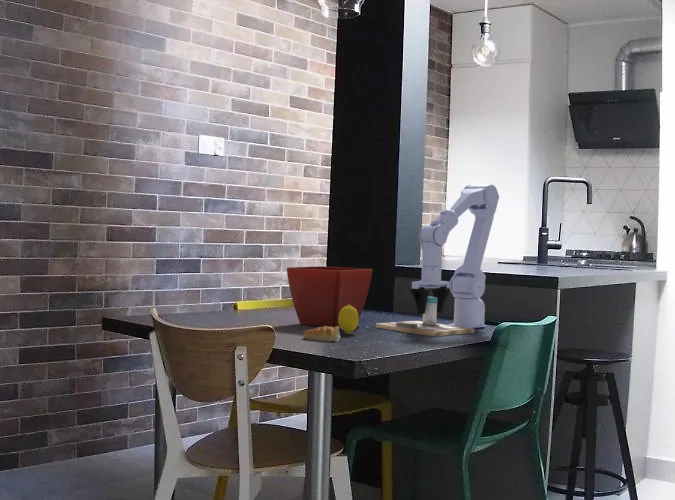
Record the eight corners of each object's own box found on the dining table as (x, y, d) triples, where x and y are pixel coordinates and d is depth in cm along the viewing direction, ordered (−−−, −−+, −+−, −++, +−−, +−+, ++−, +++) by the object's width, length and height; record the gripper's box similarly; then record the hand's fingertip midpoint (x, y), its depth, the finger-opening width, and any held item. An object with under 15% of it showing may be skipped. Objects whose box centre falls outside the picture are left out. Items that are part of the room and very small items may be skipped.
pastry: (302, 341, 204) (302, 326, 204) (304, 338, 211) (305, 323, 211) (339, 342, 204) (339, 327, 204) (340, 339, 211) (341, 324, 210)
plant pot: (282, 324, 239) (284, 266, 238) (319, 319, 255) (321, 265, 254) (337, 330, 228) (339, 270, 228) (372, 325, 244) (374, 269, 244)
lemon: (356, 335, 217) (357, 305, 217) (335, 334, 218) (336, 304, 218) (359, 333, 223) (360, 304, 223) (339, 332, 224) (340, 303, 224)
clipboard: (416, 324, 250) (417, 316, 250) (474, 332, 234) (474, 324, 234) (375, 327, 238) (376, 319, 238) (433, 336, 222) (433, 327, 222)
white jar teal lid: (428, 323, 240) (429, 296, 240) (439, 325, 237) (440, 297, 237) (419, 324, 238) (420, 296, 237) (430, 325, 235) (431, 298, 234)
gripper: (437, 265, 245) (435, 310, 245) (404, 265, 235) (402, 312, 235) (455, 267, 240) (453, 313, 240) (423, 267, 230) (421, 315, 230)
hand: (429, 313), depth 237 cm, fingers open, 7 cm apart
